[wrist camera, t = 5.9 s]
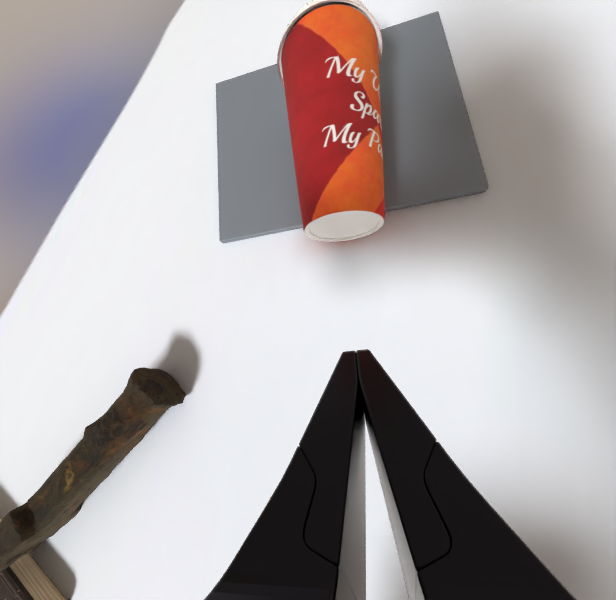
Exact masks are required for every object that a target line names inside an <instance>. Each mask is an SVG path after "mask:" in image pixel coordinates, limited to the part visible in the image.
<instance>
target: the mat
mask: <svg viewBox="0 0 616 600" xmlns="http://www.w3.org/2000/svg"><path fill="white" fill-rule="evenodd" d="M380 32H381V37H382V55H381V61H380V64H379V83H380V105H381V126H382V149H383V173H384V204H385V211H390V210H395V209H400V208H405V207H410V206H415V205H420V204H425V203H430V202H435V201H440V200H446V199H451V198H456V197H461V196H466V195H471V194H476V193H481V192H485V191H486V190H487V188H488V183H487V180H486V176H485V173H484V169H483V166H482V162H481V159H480V155H479V152H478V148H477V145H476V141H475V138H474V134H473V131H472V127H471V124H470V120H469V117H468V113H467V110H466V106H465V103H464V99H463V96H462V92H461V89H460V85H459V82H458V78H457V75H456V72H455V68H454V65H453V61H452V58H451V54H450V51H449V47H448V44H447V40H446V37H445V33H444V30H443V26H442V23H441V19H440V16H439V12H438V11H437V12H434V13H431V14H428V15H425V16H422V17H419V18H416V19H413V20H410V21H407V22H404V23H401V24H397V25H394V26H391V27H388V28H385V29H382V30H380ZM216 107H217V148H218V190H219V231H220V241H221V242H222V243H227V242H232V241H237V240H242V239H248V238H253V237H258V236H263V235H268V234H273V233H278V232H283V231H288V230H293V229H298V228H303V223H302V217H301V210H300V203H299V196H298V189H297V181H296V174H295V166H294V159H293V151H292V144H291V136H290V128H289V120H288V112H287V105H286V97H285V89H284V87H283V85H282V82H281V80H280V77H279V73H278V65H277V64H275V65H272V66H269V67H266V68H263V69H260V70H257V71H253V72H250V73H247V74H244V75H241V76H238V77H235V78H232V79H229V80H226V81H223V82H220V83H217V84H216Z"/></svg>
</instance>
